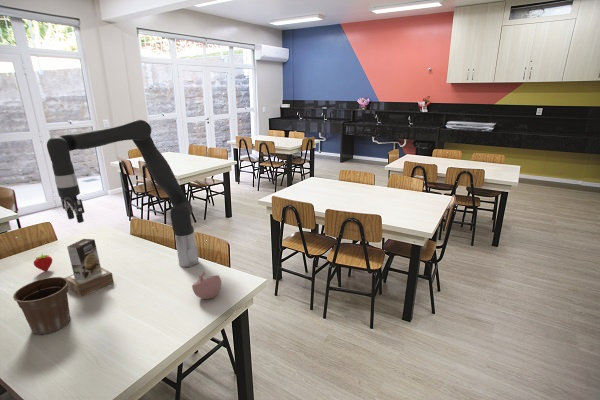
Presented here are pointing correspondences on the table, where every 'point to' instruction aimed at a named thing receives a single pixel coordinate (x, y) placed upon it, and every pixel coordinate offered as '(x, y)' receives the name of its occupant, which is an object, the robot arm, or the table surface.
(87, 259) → the coffee box
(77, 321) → the table surface
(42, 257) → the strawberry
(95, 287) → the plinth
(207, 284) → the pink apple
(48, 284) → the plant pot
